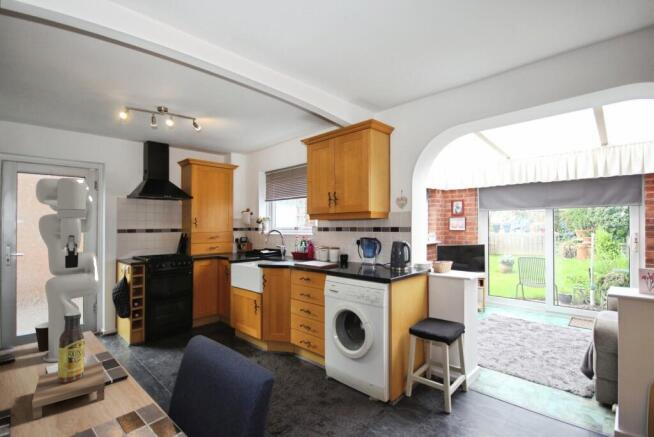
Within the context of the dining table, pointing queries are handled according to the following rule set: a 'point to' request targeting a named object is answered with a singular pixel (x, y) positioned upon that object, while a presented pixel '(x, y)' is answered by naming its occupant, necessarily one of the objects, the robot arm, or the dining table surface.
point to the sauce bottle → (71, 350)
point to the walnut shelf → (67, 387)
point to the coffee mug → (42, 337)
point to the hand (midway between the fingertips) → (72, 265)
